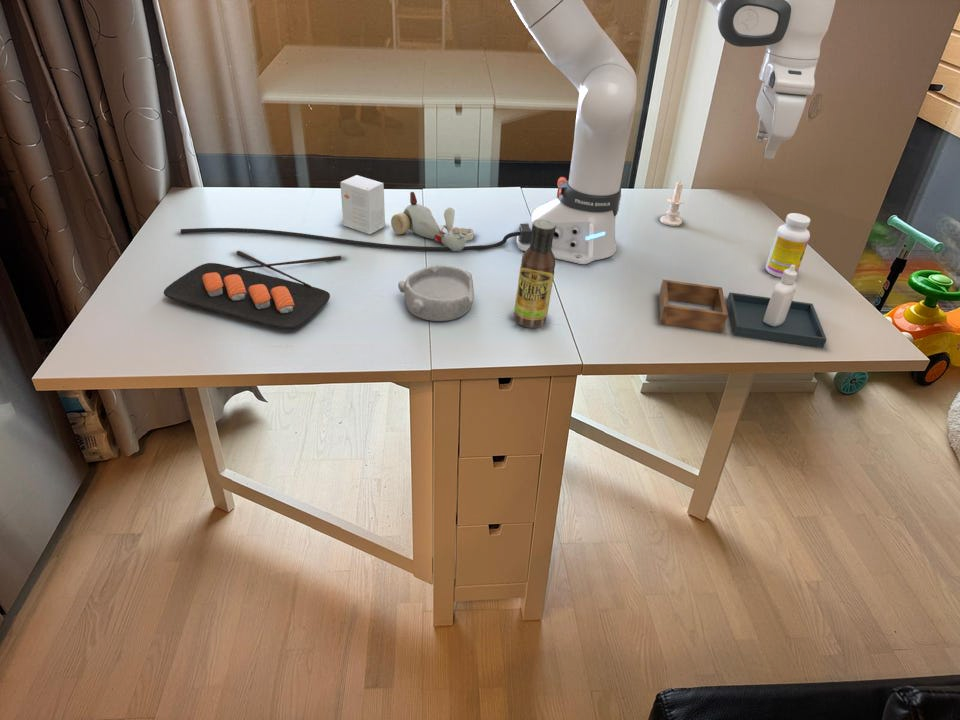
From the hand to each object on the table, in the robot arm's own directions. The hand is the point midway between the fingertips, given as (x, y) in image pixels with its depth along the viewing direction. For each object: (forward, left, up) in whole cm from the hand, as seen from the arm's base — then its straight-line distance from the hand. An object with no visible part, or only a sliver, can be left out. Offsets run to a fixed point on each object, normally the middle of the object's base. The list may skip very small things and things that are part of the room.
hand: (764, 149), depth 134 cm
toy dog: (-64, +4, -29) cm, 71 cm away
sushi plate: (-89, -25, -29) cm, 97 cm away
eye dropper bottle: (+8, -13, -29) cm, 32 cm away
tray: (+8, -13, -29) cm, 33 cm away
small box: (-80, +5, -29) cm, 85 cm away
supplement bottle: (+13, +10, -29) cm, 34 cm away
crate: (-8, -14, -29) cm, 33 cm away
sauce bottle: (-38, -25, -29) cm, 54 cm away
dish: (-56, -24, -29) cm, 68 cm away
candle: (-10, +30, -29) cm, 43 cm away
